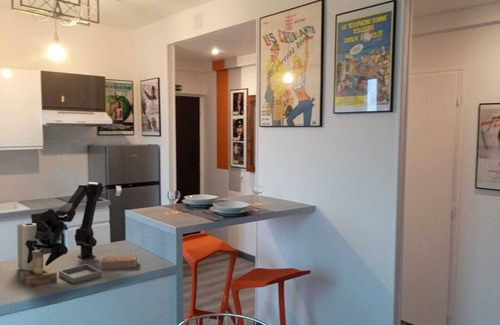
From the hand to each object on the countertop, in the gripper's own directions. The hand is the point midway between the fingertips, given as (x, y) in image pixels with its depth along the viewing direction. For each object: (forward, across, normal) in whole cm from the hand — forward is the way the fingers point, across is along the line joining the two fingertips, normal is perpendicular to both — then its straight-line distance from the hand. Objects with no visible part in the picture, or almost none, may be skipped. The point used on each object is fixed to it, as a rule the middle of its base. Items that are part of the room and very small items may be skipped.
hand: (36, 264), depth 176 cm
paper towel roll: (-3, -15, +14) cm, 20 cm away
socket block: (+5, 0, +6) cm, 8 cm away
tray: (-2, +14, +13) cm, 19 cm away
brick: (-14, +23, +26) cm, 37 cm away
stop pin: (+5, 0, +6) cm, 8 cm away
